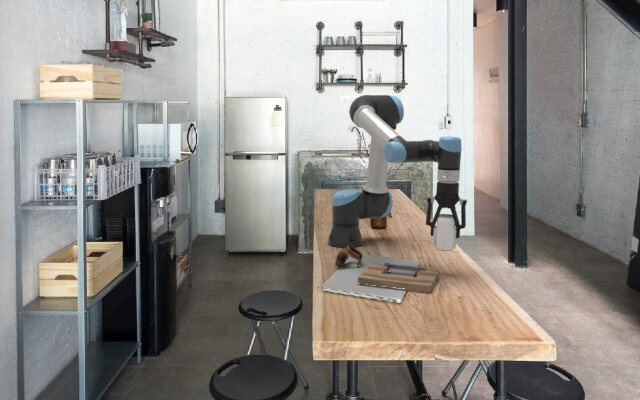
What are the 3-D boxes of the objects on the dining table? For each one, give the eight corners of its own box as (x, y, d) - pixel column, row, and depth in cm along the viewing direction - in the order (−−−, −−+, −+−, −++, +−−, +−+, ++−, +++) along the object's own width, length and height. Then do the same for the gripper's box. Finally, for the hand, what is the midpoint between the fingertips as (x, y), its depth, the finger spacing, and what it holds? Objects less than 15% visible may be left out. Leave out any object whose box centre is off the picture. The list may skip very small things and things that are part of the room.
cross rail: (385, 271, 192) (385, 262, 191) (426, 275, 186) (426, 267, 186) (383, 272, 190) (384, 264, 189) (425, 277, 185) (425, 268, 184)
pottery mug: (339, 261, 206) (351, 244, 205) (358, 276, 202) (369, 258, 200) (325, 261, 196) (336, 242, 194) (343, 276, 191) (355, 257, 190)
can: (441, 245, 192) (443, 212, 190) (457, 248, 188) (459, 215, 185) (431, 248, 188) (433, 215, 185) (447, 252, 183) (449, 218, 181)
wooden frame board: (372, 270, 193) (372, 263, 193) (439, 277, 184) (439, 270, 184) (357, 284, 176) (358, 277, 176) (430, 293, 168) (430, 285, 167)
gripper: (418, 181, 183) (415, 245, 187) (475, 184, 176) (471, 251, 181) (422, 178, 190) (419, 240, 194) (477, 181, 183) (473, 246, 187)
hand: (444, 245), depth 187 cm, fingers closed on can, 6 cm apart
